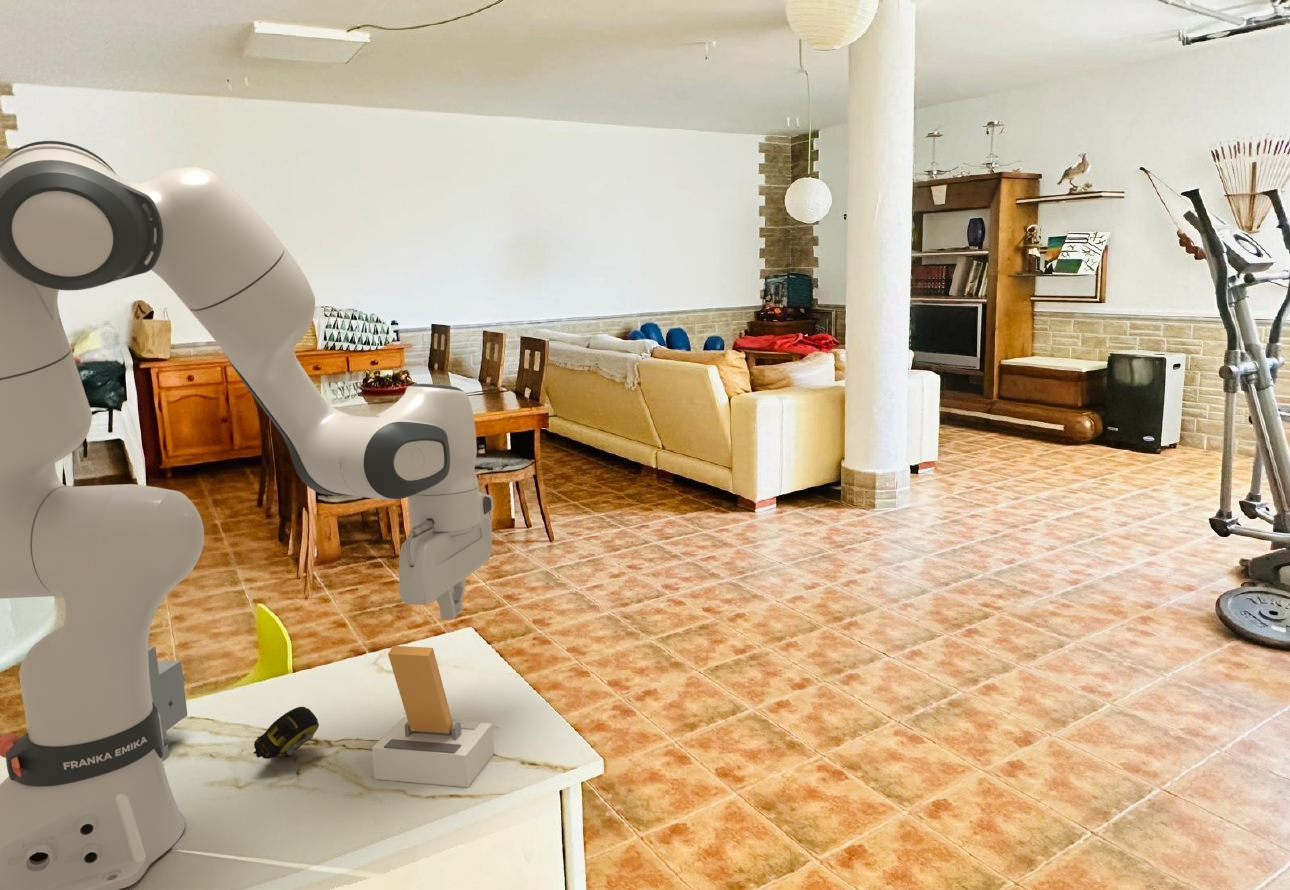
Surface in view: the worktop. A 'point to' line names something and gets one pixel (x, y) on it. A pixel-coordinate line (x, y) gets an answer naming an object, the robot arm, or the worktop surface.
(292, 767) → the worktop surface
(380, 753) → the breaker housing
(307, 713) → the tape measure
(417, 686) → the lever
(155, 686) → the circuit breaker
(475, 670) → the worktop surface
